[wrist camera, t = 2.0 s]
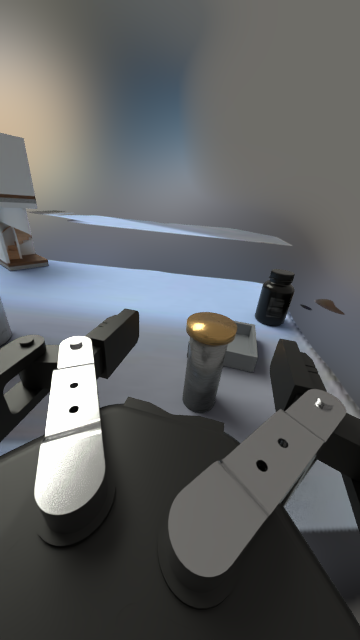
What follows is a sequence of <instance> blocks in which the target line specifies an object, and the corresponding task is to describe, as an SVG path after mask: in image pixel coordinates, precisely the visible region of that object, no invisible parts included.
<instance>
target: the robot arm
mask: <svg viewBox="0 0 360 640" xmlns="http://www.w3.org/2000/svg"><path fill="white" fill-rule="evenodd" d="M11 335H12V333H11V329H10V326H9V323H8V320H7V317H6V313H5V310H4V307H3V304H2V301H1V298H0V346H1V345H2V344H4V343H5V342H7V341H8V340H9V339H10V337H11ZM138 338H139V312H138V311H135V310H130V309H124V310H123V311H122V312H121V313H119V314H118V315H114V316H112V317H109V318H107V319H106V320H105V321H103V323H101V324H100V325H98V326H97V327H96V328H95V329H93V330H92V331H91V332H90V333H88V334H87V335H86V336H85V337H84V336H75V337H71V338H68V339H66V340H64V341H63V342H62V343H61V344H60V345H45V341H44V338H43V337H42V336H39V335H28V336H23V337H20V338H17V339H15V340H14V341H12V342H10V343H9V344H7V345H6V346H4V347H2V348H1V349H0V442H1V441H2V440H3V439H4V438H5V437H6V436H7V435H8V434H9V433H10V432H11V431H12V430H13V429H14V428H15V427H16V426H17V425H18V424H19V423H20V421H21V420H22V419H23V418H24V417H25V416H26V415H27V414H28V413H29V412H30V411H31V410H32V409H33V408H34V407H35V406H36V405H37V404H38V403H39V402H40V401H41V400H42V399H43V398H44V397H45V396H46V395H47V394H48V393H49V392H50V391H51V392H50V400H49V408H48V416H47V425H46V433H45V435H43V436H41V437H39V438H36V439H34V440H32V441H30V442H28V443H26V444H24V445H22V446H20V447H18V448H16V449H14V450H12V451H10V452H8V453H6V454H3V455H1V456H0V640H360V625H359V623H358V622H357V620H356V618H355V617H354V615H353V613H352V611H351V610H350V609H349V607H348V606H347V604H346V602H345V601H344V599H343V598H342V596H341V595H340V593H339V591H338V590H337V588H336V587H335V585H334V584H333V582H332V581H331V579H330V577H329V576H328V574H327V573H326V571H325V570H324V568H323V567H322V565H321V564H320V562H319V561H318V559H317V557H316V556H315V554H314V553H313V551H312V550H311V548H310V547H309V545H308V544H307V542H306V541H305V539H304V537H303V536H302V534H301V533H300V531H299V530H298V528H297V527H296V525H295V524H294V522H293V520H292V519H291V517H290V516H289V514H288V513H287V511H286V510H285V508H284V507H285V505H286V504H287V502H288V501H289V499H290V498H291V496H292V495H293V493H294V492H295V490H296V489H297V487H298V486H299V485H300V483H301V482H302V480H303V479H304V478H305V476H306V475H307V473H308V472H309V471H310V469H311V468H312V466H313V465H314V464H315V462H316V461H317V459H318V460H319V461H321V462H323V463H325V464H327V465H328V466H330V467H332V468H334V469H336V470H337V471H339V472H341V474H342V477H343V481H344V484H345V487H346V490H347V494H348V497H349V500H350V503H351V506H352V510H353V513H354V516H355V519H356V523H357V526H358V529H359V532H360V419H358V418H356V417H354V416H352V415H350V414H348V413H346V409H345V406H344V405H343V404H342V402H341V401H340V400H338V399H337V398H336V397H335V396H333V395H331V394H330V393H328V392H327V391H326V389H325V387H324V384H323V382H322V380H321V378H320V376H319V374H318V371H317V369H316V368H315V365H314V362H313V360H312V359H311V358H310V357H309V356H308V355H307V354H306V353H303V352H300V350H299V348H298V345H297V343H296V342H295V341H290V340H285V339H280V340H279V341H278V344H277V347H276V350H275V353H274V356H273V359H272V361H271V365H270V378H271V384H272V390H273V397H274V403H275V409H276V413H275V414H274V415H272V416H271V417H270V418H269V419H268V420H267V421H266V422H265V423H263V424H262V425H261V426H260V427H259V428H258V429H257V430H256V431H254V432H253V433H252V434H251V435H250V436H249V437H248V438H247V439H245V440H244V441H243V442H242V443H241V444H240V443H239V442H238V441H237V440H236V439H234V438H233V437H232V436H230V435H229V434H227V433H225V432H224V423H223V422H219V421H215V420H212V419H208V418H204V417H201V416H187V415H173V414H170V413H168V412H166V411H164V410H163V409H161V408H159V407H157V406H155V405H153V404H152V403H149V402H146V401H142V400H138V399H135V398H131V397H128V398H127V400H126V401H125V403H124V404H114V405H108V406H104V407H102V408H100V406H99V398H98V389H97V381H96V380H97V379H98V378H99V377H102V378H106V379H108V378H109V377H110V375H111V374H112V373H113V372H114V370H115V369H116V368H117V367H118V366H119V364H120V363H121V362H122V361H123V359H124V358H125V357H126V356H127V354H128V353H129V352H130V351H131V349H132V348H133V347H134V346H135V344H136V343H137V341H138ZM18 373H19V376H20V379H21V381H20V382H19V383H18V384H16V385H15V386H14V387H13V388H12V389H10V390H9V391H8V392H7V393H6V394H3V389H4V386H5V385H6V383H7V382H8V381H10V380H11V379H12V378H13V377H15V376H16V375H17V374H18Z"/></svg>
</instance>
